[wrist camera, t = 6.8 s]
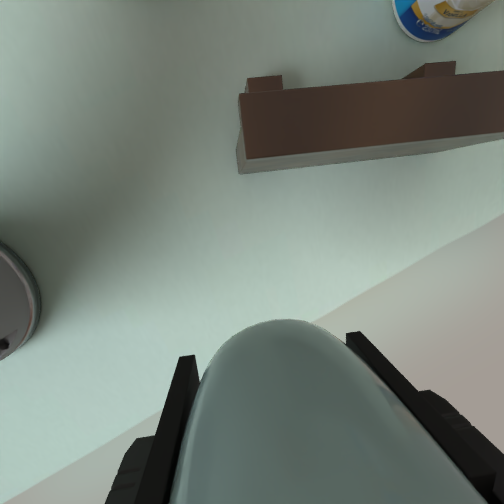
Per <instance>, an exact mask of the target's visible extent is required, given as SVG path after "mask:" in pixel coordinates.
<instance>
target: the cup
mask: <svg viewBox="0 0 504 504" xmlns="http://www.w3.org/2000/svg"><path fill="white" fill-rule="evenodd" d="M168 504H489V503H488V502H487V501H486V500H485V499H484V497H483V496H482V495H481V494H480V493H479V492H478V490H477V489H476V488H475V487H474V486H473V484H472V483H471V482H470V481H469V480H468V479H467V477H466V476H465V475H464V474H463V473H462V471H461V470H460V469H459V468H458V467H457V466H456V464H455V463H454V462H453V461H452V460H451V458H450V457H449V456H448V455H447V454H446V453H445V451H444V450H443V449H442V448H441V447H440V446H439V444H438V443H437V442H436V441H435V440H434V439H433V437H432V436H431V435H430V434H429V433H428V432H427V430H426V429H425V428H424V427H423V426H422V425H421V423H420V422H419V421H418V420H417V419H416V418H415V417H414V415H413V414H412V413H411V412H410V411H409V410H408V408H407V407H406V406H405V405H404V404H403V403H402V402H401V401H400V399H399V398H398V397H397V396H396V395H395V394H394V393H393V391H392V390H391V389H390V388H389V387H388V386H387V385H386V384H385V383H384V381H383V380H382V379H381V378H380V377H379V376H378V375H377V374H376V373H375V372H374V371H373V370H372V368H371V367H370V366H369V365H368V364H367V363H366V362H365V361H364V360H363V359H362V358H361V357H360V356H359V355H358V354H356V353H355V352H354V351H353V350H352V349H351V348H350V347H349V346H347V345H346V344H345V343H344V342H342V341H341V340H340V339H338V338H337V337H335V336H334V335H332V334H331V333H330V332H328V331H327V330H325V329H323V328H321V327H319V326H317V325H314V324H312V323H309V322H306V321H301V320H293V319H275V320H270V321H265V322H260V323H258V324H255V325H252V326H250V327H247V328H246V329H244V330H242V331H240V332H239V333H237V334H235V335H234V336H232V337H231V338H230V339H229V340H228V341H226V342H225V343H224V344H223V345H222V346H221V347H220V348H219V350H218V351H217V352H216V354H215V355H214V356H213V358H212V359H211V360H210V362H209V364H208V366H207V368H206V370H205V372H204V375H203V377H202V379H201V381H200V384H199V386H198V388H197V391H196V394H195V397H194V400H193V403H192V406H191V409H190V413H189V416H188V420H187V423H186V427H185V431H184V436H183V440H182V444H181V448H180V452H179V457H178V461H177V466H176V470H175V475H174V479H173V484H172V489H171V493H170V498H169V503H168Z"/></svg>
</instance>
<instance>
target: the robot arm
mask: <svg viewBox="0 0 504 504" xmlns="http://www.w3.org/2000/svg"><path fill="white" fill-rule="evenodd" d="M40 310H41V303H40V295H39V291H38V287H37V285H36V282H35V280H34V278H33V276H32V274H31V272H30V271H29V269H28V268H27V266H26V265H25V264H24V263H23V261H22V260H21V259H20V258H19V257H18V256H17V255H16V254H15V253H14V252H13V251H12V250H11V249H9V248H8V247H7V246H5V245H4V244H3V243H1V242H0V360H2V359H4V358H6V357H7V356H9V355H10V354H11V353H13V352H14V351H15V350H17V349H18V348H19V347H21V346H22V345H23V344H24V343H25V342H26V341H27V340H28V339H29V338H30V337H31V335H32V334H33V332H34V330H35V329H36V326H37V324H38V321H39V317H40ZM346 345H347V346H349V347H350V348H351V349H352V350H353V351H354V352H355V353H356V354H358V355H359V356H360V357H361V358H362V359H363V360H364V361H365V362H366V363H367V364H368V365H369V366H370V367H371V368H372V370H373V371H374V372H375V373H376V374H377V375H378V376H379V377H380V378H381V379H382V380H383V381H384V383H385V384H386V385H387V386H388V387H389V388H390V389H391V390H392V391H393V393H394V394H395V395H396V396H397V397H398V398H399V399H400V401H401V402H402V403H403V404H404V405H405V406H406V407H407V408H408V410H409V411H410V412H411V413H412V414H413V415H414V417H415V418H416V419H417V420H418V421H419V422H420V423H421V425H422V426H423V427H424V428H425V429H426V430H427V432H428V433H429V434H430V435H431V436H432V437H433V439H434V440H435V441H436V442H437V443H438V444H439V446H440V447H441V448H442V449H443V450H444V451H445V453H446V454H447V455H448V456H449V457H450V458H451V460H452V461H453V462H454V463H455V464H456V466H457V467H458V468H459V469H460V470H461V471H462V473H463V474H464V475H465V476H466V477H467V479H468V480H469V481H470V482H471V483H472V484H473V486H474V487H475V488H476V489H477V490H478V492H479V493H480V494H481V495H482V496H483V497H484V499H485V500H486V501H487V502H488V503H489V504H504V454H503V453H502V452H501V451H500V450H499V449H497V447H495V446H494V445H493V444H492V443H491V442H490V441H489V440H488V439H487V438H486V437H485V436H484V435H483V434H481V432H479V431H478V430H477V429H476V428H475V427H474V426H472V425H471V423H470V422H469V421H468V420H467V419H466V418H465V417H464V416H462V415H460V414H459V412H458V411H457V410H456V409H455V408H454V407H453V406H452V405H451V404H450V403H449V402H448V401H447V400H445V399H444V398H442V397H441V396H439V395H437V394H436V393H434V392H432V391H431V390H425V391H419V392H418V390H416V389H415V388H414V386H412V384H411V383H410V382H409V381H408V380H407V379H406V378H405V377H404V376H403V375H402V374H401V373H400V372H399V371H398V370H397V369H396V368H395V367H394V366H393V365H392V364H391V363H390V362H389V361H388V360H387V358H385V357H384V356H383V354H382V353H381V352H380V351H379V350H378V349H377V348H376V347H375V346H374V345H373V344H372V343H371V342H370V341H369V340H368V339H367V338H366V337H365V336H364V335H363V334H362V333H361V332H360V331H357V332H350V333H346ZM199 384H200V381H199V376H198V370H197V364H196V359H195V355H189V356H182V357H179V360H178V363H177V366H176V370H175V373H174V376H173V379H172V382H171V386H170V389H169V392H168V395H167V399H166V402H165V405H164V408H163V412H162V415H161V418H160V421H159V425H158V428H157V431H156V434H155V436H149V437H142V438H137V439H136V440H135V441H134V442H133V444H132V445H131V446H130V448H129V449H128V450H127V452H126V453H125V455H124V457H123V460H122V462H121V465H120V467H119V470H118V474H117V475H116V477H115V479H114V482H113V485H112V487H111V491H110V492H109V494H108V497H107V499H106V502H105V504H168V503H169V498H170V493H171V489H172V484H173V479H174V475H175V470H176V466H177V461H178V457H179V452H180V448H181V444H182V440H183V436H184V431H185V427H186V423H187V420H188V416H189V413H190V409H191V406H192V403H193V400H194V397H195V394H196V391H197V388H198V386H199Z"/></svg>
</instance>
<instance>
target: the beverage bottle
mask: <svg viewBox="0 0 504 504" xmlns="http://www.w3.org/2000/svg"><path fill="white" fill-rule="evenodd" d="M493 1H495V0H392V6H393V11H394V15H395V18H396V20H397V22H398V24H399V26H400V28H401V29H402V30H403V31H404V32H405V33H406V34H407V35H408V36H409V37H411V38H412V39H414V40H417V41H420V42H434V41H438V40H441V39H443V38H445V37H447V36H448V35H450V34H451V33H453V32H454V31H456V30H457V29H458V28H460V27H461V26H462V25H463V24H464V23H466V22H467V21H468V20H469V19H471V18H472V17H473V16H474V15H476V14H477V13H478V12H480V11H481V10H482V9H484V8H485V7H486V6H488V5H489V4H491V3H492V2H493Z"/></svg>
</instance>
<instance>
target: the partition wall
mask: <svg viewBox="0 0 504 504" xmlns="http://www.w3.org/2000/svg"><path fill="white" fill-rule="evenodd" d="M455 66H456V61H450V62H437V63H425V64H424V65H422V66H421V67H419V68H418V69H416V70H415V71H413V72H412V73H410V74H409V75H407V76H406V77H404V78H403V79H401V80H389V81H378V82H366V83H355V84H343V85H332V86H320V87H308V88H297V89H285V90H283V84H282V75H278V76H266V77H254V78H247V82H246V88H245V93H240V94H239V97H238V107H239V116H240V125H241V128H240V133H239V138H238V143H237V148H236V156H237V164H238V172H239V174H248V173H257V172H266V171H275V170H284V169H293V168H302V167H310V166H319V165H328V164H337V163H346V162H355V161H364V160H373V159H382V158H391V157H400V156H409V155H418V154H427V153H436V152H441V151H446V150H451V149H456V148H461V147H466V146H471V145H476V144H480V143H485V142H490V141H495V140H500V139H504V71H493V72H481V73H470V74H458V75H455Z"/></svg>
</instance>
